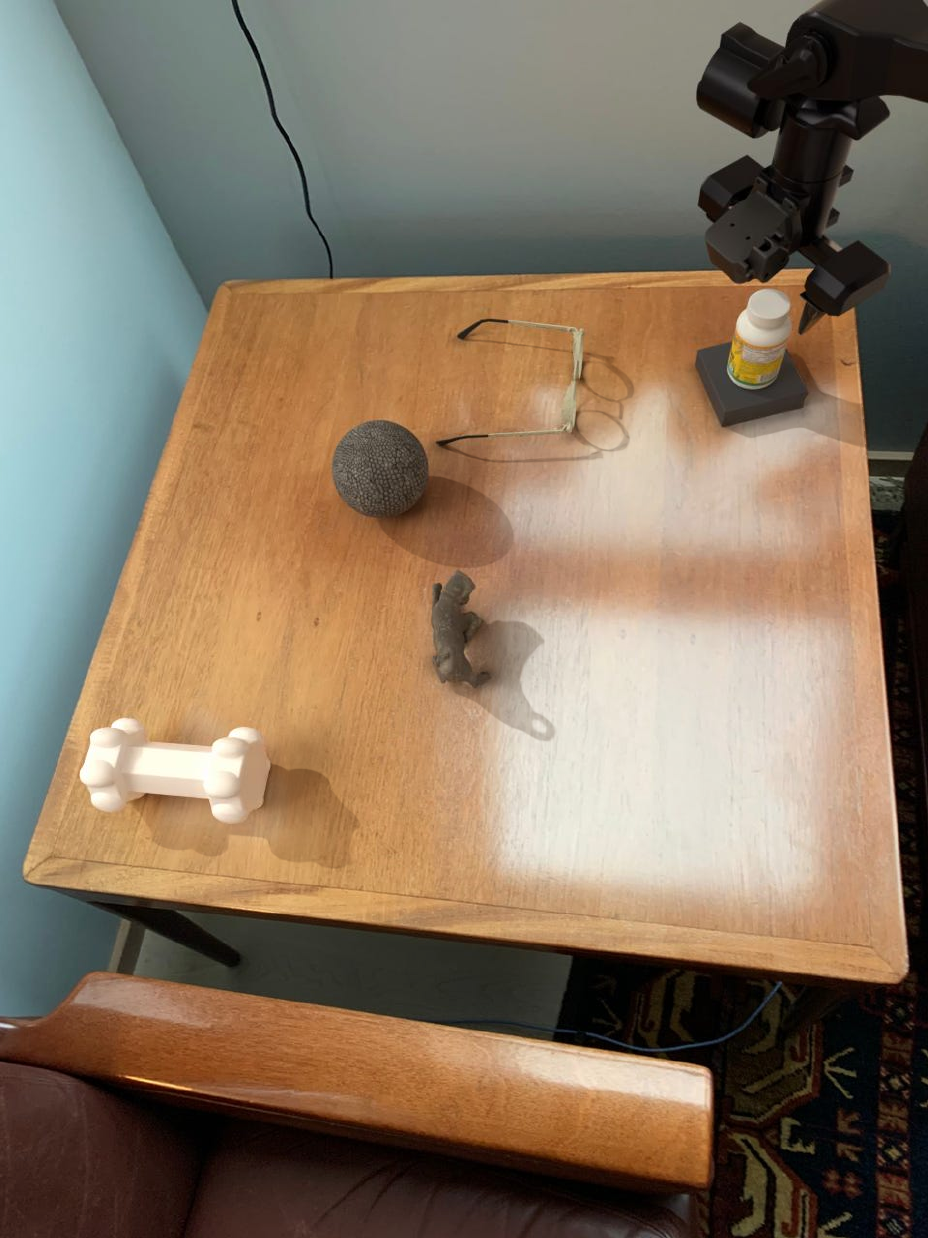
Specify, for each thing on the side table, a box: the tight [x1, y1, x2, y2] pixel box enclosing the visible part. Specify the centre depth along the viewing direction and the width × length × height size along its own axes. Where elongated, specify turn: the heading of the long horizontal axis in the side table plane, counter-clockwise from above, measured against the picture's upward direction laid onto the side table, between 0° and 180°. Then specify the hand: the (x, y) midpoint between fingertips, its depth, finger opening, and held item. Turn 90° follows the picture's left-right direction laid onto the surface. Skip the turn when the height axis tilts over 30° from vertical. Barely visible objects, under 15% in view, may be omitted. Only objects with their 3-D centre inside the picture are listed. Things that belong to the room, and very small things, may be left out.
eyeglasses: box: [435, 318, 586, 446], centre depth 96 cm, size 17×15×5 cm
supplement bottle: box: [727, 288, 793, 389], centre depth 88 cm, size 5×5×10 cm
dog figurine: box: [430, 569, 492, 689], centre depth 82 cm, size 12×6×7 cm, turn 1°
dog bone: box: [79, 717, 271, 825], centre depth 79 cm, size 15×9×8 cm, turn 83°
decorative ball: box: [331, 419, 430, 519], centre depth 90 cm, size 10×10×10 cm
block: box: [694, 340, 809, 428], centre depth 94 cm, size 9×9×2 cm
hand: (770, 303), depth 85 cm, fingers open, 9 cm apart
